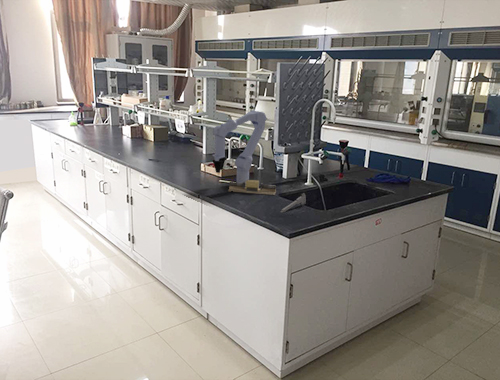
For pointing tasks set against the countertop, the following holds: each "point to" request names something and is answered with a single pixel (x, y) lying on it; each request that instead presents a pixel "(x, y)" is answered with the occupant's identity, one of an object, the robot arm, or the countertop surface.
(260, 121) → the robot arm
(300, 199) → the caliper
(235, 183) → the mechanism
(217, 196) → the countertop surface
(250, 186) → the coupler
